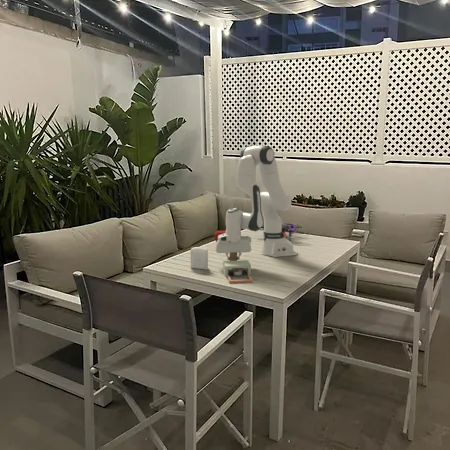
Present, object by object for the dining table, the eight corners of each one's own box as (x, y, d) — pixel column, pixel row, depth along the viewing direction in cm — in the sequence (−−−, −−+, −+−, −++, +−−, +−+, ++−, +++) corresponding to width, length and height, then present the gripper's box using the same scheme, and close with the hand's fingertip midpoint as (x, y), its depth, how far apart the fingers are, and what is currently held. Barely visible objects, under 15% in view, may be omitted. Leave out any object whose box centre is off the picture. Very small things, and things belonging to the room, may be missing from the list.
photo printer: (209, 268, 259) (208, 247, 257) (206, 270, 255) (205, 249, 253) (192, 266, 263) (192, 245, 260) (189, 268, 259) (189, 247, 256)
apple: (233, 247, 304) (233, 229, 301) (220, 249, 298) (220, 232, 296) (224, 244, 313) (224, 227, 310) (211, 246, 307) (211, 229, 305)
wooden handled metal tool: (229, 264, 265) (229, 251, 263) (236, 264, 265) (236, 251, 264) (233, 273, 247) (233, 259, 246) (240, 273, 248) (240, 259, 246)
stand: (248, 269, 255) (248, 260, 254) (251, 275, 245) (251, 265, 244) (223, 270, 253) (223, 261, 252) (225, 276, 244) (225, 266, 243)
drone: (249, 225, 327) (265, 218, 351) (249, 238, 329) (265, 231, 353) (302, 231, 308) (315, 223, 332) (301, 244, 310) (315, 236, 334)
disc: (241, 274, 248) (241, 269, 247) (243, 277, 243) (243, 272, 242) (232, 274, 247) (232, 270, 247) (233, 277, 243) (233, 272, 242)
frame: (249, 276, 244) (249, 274, 243) (252, 282, 234) (252, 280, 234) (227, 277, 242) (227, 275, 242) (229, 283, 233) (229, 281, 233)
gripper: (250, 234, 263) (250, 257, 266) (215, 235, 261) (215, 258, 264) (252, 237, 257) (252, 260, 260) (216, 238, 255) (216, 261, 258)
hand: (233, 259), depth 262 cm, fingers open, 4 cm apart
